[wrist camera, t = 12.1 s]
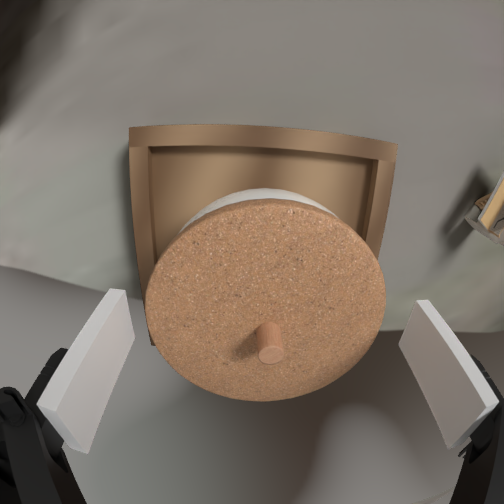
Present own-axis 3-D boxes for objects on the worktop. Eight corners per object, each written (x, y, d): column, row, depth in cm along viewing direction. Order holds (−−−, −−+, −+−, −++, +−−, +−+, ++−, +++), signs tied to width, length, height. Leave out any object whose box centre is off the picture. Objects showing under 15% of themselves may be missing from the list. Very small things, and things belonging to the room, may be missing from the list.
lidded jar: (146, 236, 19) (82, 324, 10) (282, 134, 16) (322, 148, 8) (243, 340, 22) (243, 445, 14) (365, 267, 20) (426, 358, 11)
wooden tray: (379, 140, 18) (397, 144, 16) (342, 329, 25) (351, 350, 22) (144, 126, 18) (129, 127, 15) (159, 323, 24) (151, 345, 22)
